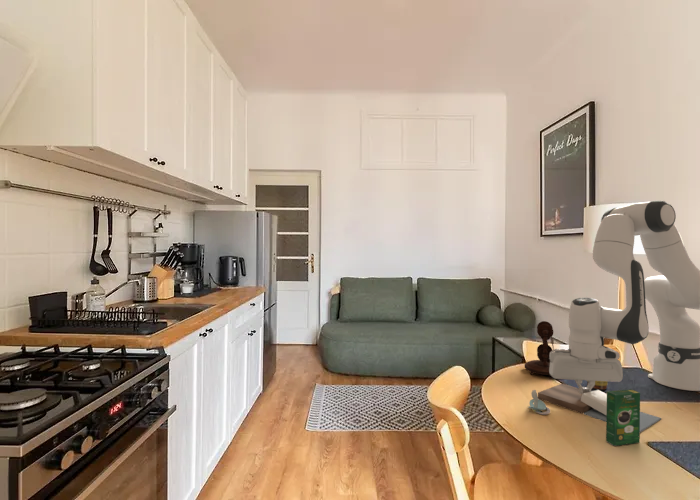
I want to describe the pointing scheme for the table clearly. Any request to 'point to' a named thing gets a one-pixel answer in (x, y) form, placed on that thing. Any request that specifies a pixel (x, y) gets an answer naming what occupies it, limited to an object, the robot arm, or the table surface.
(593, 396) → the tile
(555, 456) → the table surface
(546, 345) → the stacked ball statuette
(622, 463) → the table surface
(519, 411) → the table surface
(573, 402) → the board
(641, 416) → the mat
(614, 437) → the coffee box
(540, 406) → the pacifier
